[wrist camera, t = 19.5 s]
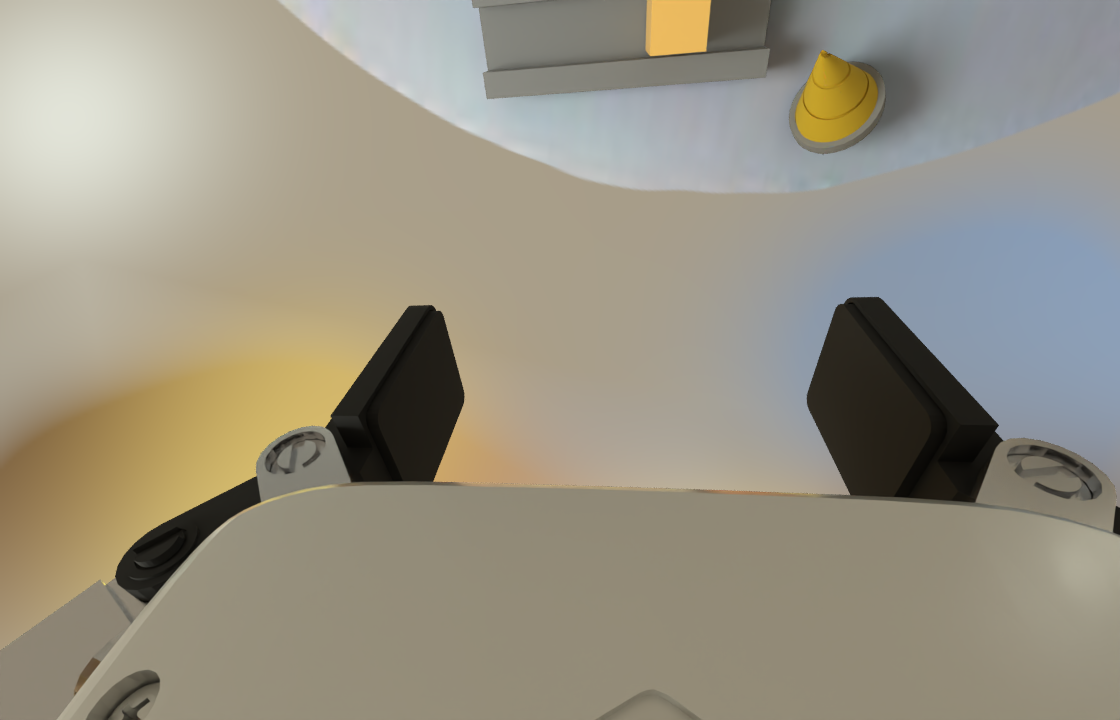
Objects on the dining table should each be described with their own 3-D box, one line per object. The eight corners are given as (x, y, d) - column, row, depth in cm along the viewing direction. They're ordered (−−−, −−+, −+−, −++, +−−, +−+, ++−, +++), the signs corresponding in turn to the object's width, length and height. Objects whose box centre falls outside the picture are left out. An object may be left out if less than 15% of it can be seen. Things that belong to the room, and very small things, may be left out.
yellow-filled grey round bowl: (786, 163, 34) (753, 100, 26) (817, 89, 33) (792, -1, 25) (864, 174, 31) (854, 107, 23) (901, 93, 30) (903, -7, 22)
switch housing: (773, -55, 27) (788, -61, 24) (753, 72, 31) (766, 77, 28) (480, -22, 29) (467, -25, 27) (496, 92, 33) (486, 99, 31)
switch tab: (697, -7, 27) (712, -11, 23) (693, 46, 29) (706, 51, 25) (646, -2, 28) (652, -4, 23) (645, 50, 29) (650, 56, 25)
